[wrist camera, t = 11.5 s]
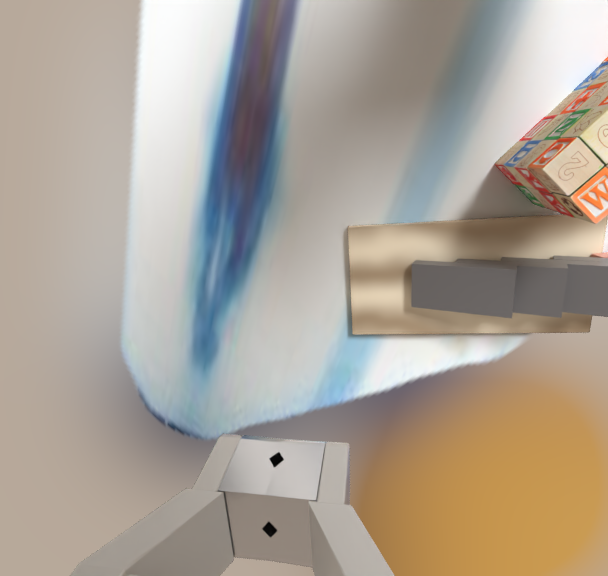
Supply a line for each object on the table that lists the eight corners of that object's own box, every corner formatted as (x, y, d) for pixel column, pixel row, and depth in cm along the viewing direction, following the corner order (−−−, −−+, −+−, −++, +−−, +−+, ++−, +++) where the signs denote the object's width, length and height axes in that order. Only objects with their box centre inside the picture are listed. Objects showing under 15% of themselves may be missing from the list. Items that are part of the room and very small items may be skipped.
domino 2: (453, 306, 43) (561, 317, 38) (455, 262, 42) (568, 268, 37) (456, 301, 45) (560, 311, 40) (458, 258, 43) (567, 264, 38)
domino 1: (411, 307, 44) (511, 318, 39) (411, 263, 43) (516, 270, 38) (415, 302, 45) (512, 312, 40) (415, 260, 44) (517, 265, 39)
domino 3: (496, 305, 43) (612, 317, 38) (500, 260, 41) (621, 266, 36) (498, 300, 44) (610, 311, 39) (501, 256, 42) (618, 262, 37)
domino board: (348, 226, 45) (347, 227, 44) (601, 212, 41) (608, 214, 40) (352, 330, 49) (352, 334, 48) (583, 327, 45) (589, 332, 44)
